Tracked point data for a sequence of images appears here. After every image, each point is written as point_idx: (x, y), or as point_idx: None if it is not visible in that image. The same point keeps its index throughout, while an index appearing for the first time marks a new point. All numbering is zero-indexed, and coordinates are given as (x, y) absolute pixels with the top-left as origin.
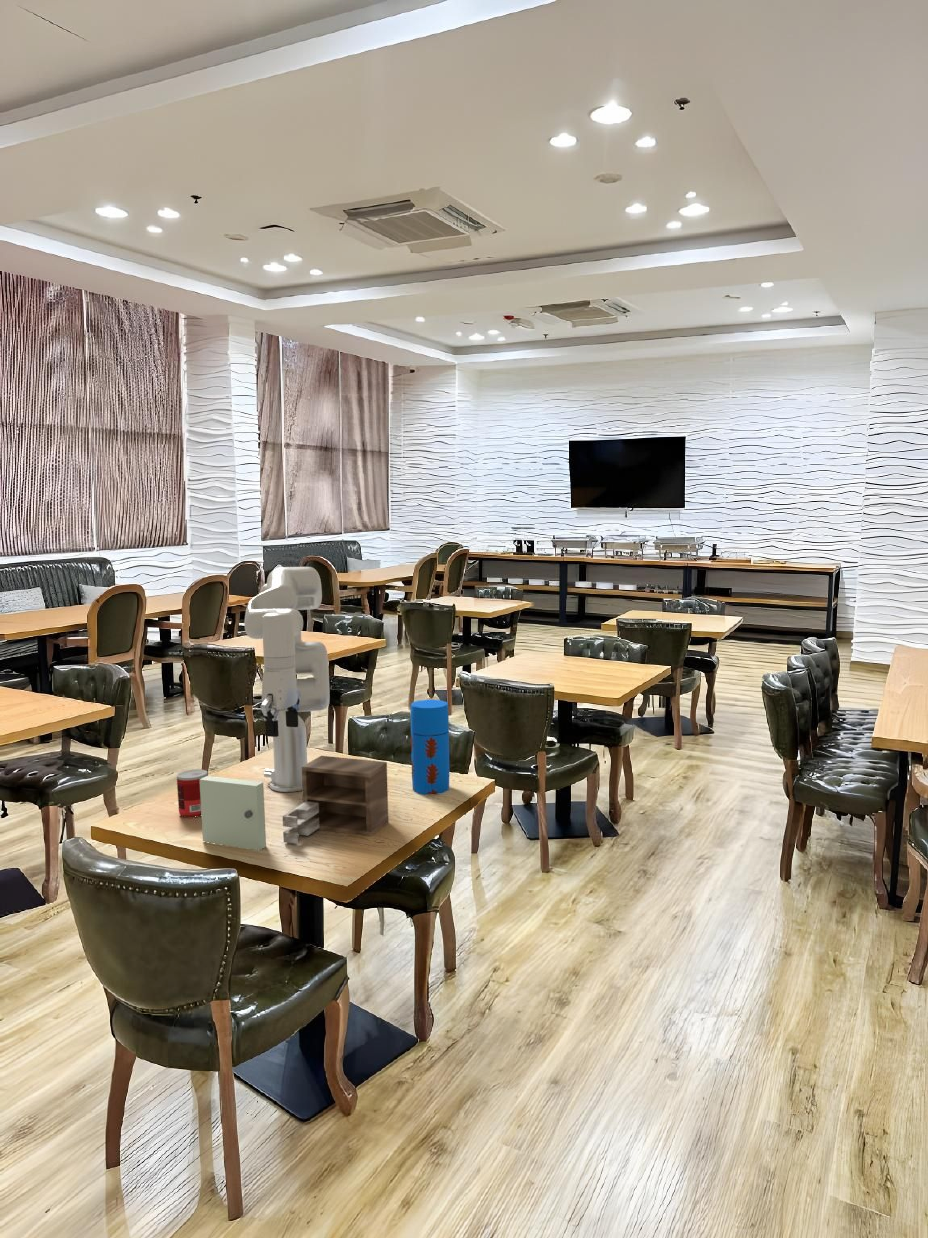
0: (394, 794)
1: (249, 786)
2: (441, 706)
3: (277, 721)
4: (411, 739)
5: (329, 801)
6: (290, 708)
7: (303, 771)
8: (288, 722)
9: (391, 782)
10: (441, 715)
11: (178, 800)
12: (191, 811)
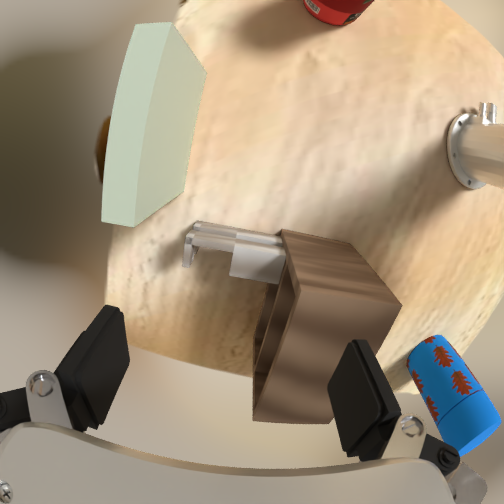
0: (420, 321)
1: (104, 197)
2: None
3: (91, 423)
4: (462, 388)
5: (272, 310)
6: (379, 449)
7: (297, 288)
8: (350, 370)
9: (461, 302)
10: None
11: None
12: (306, 1)
